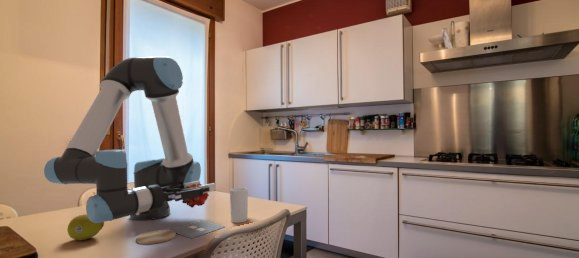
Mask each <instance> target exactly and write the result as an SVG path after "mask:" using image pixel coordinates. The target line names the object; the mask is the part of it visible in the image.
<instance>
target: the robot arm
mask: <svg viewBox="0 0 579 258" xmlns="http://www.w3.org/2000/svg"><path fill="white" fill-rule="evenodd" d="M183 78H184V75H183V71H182V69H181V67H180V65H179V64H178V62H177V61H176V60H175V59H174V58H173V57H171V56H160V55H157V56H155V55H154V56H144V57H129V58H126V59H123V60H121V61H119V62H118V63H117V64H115V65H114V66H113V67H112V68H111V69H110V70H109V71H108V72H107V73H106V74H105V76H104V77H103V78H102V80H101V82H100V84H99V88H100V90H99V92H98V94H97V95H96V97H95V98H94V101H93V102H92V104H91V106H90V107H89V109H88V110H87V112H86V114H85V115H84V117H83V119H82V120H81V123H80V124H79V126H78V128H77V129H76V131H75V133H74V135H73V136H72V138H71V139H70V141H69V143H68V144H67V146H66V148H65V149H64V151H63V153H62V155H61V156H56V157H53V158H51V159H49V160H48V161H47V162H46V163H45V165H44V167H43V174H44V177H45V178H46V180H47V181H49V183H53V184H61V185H71V184H72V185H73V184H77V185H79V184H84V185H85V184H86V185H95V186H96V191H95V192H96V193H95V194H94V195H90V196H89V197H88V198H87V200H86V205H85V210H86V214H87V216H88V218H89V220H90V221H91V222H93V223H100V222H104V223H105V222H111V221H114V220H117V219H122V218H124V217H125V218H126V217H129V218H130V220H134V221H149V220H155V219H160V218H163V217H166V216H168V215H170V214H171V207H170V204H169V202H172V201H175V202H179V201H183V199H188V198H193V197H198V196H200V197H202V196H203V194H204V193H208V194H209V193H211V192H215V191H216V183H215V182H212V183H207V184H202V186H199V187H195V188H187V189H184V188H186V187H187V186H191V185H193V184H196V185H197V184H201V180H200V179H201V174H202V173H201V171H202V167H201V164H200V162H198V161H194V157H193V155H192V154H191V153H189V151H188V146H187V143H186V139H185V134H184V129H183V125H182V119H181V114H180V111H179V106H178V101H177V96H178V95H179V93H180V89H181V88H182V86H183V83H184V82H183ZM137 91H143V92H144V96H145V98H146V99H147V100H149V101H151V105H152V110H153V114H154V117H155V122H156V126H157V131H158V134H159V138H160V142H161V146H162V149H163V154H164V157H163V158H156V159H155V158H154V159H148V160H142V161H138V162H136V163H134V167H133V169H134V170H133V179H134V180H133V181H134V182H133V184H134V185H133V186H134V187H133V188H129V189H128V166H129V165H128V162H127V153H126V151H125V150H123V149H104V150H99V149H100V147H101V145H102V143H103V141H104V140H105V137H106V136H107V134H108V131H109V130H110V128H111V126H112V124H113V122H114V120H115V117H117V115H118V112H119V111H120V108H121V107H122V104H123V102H124V101H125V100H128V99H129V98H130V97H131V94H132V93H133V92H137Z"/></svg>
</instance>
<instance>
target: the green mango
mask: <svg viewBox="0 0 579 258" xmlns="http://www.w3.org/2000/svg"><path fill="white" fill-rule="evenodd" d="M104 226H105V222H100V223H93V222H91V221H90V220H89V218H88V216H87V213H86V214H85V213H84V214H81V215H80V214H79V215H77V216H75V217H73V218H72V219H71V220H70V221H69V223H68V225H67V234H68V236H69V237H70V238H71V239H73V240H75V241H85V240H86V241H87V240H88V239H91V238H93V237H94V236H97V234H98V233H99V232H100V231H101V230H102V229H103V228H104Z"/></svg>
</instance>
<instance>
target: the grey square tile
mask: <svg viewBox="0 0 579 258" xmlns="http://www.w3.org/2000/svg"><path fill="white" fill-rule="evenodd" d="M225 227H226V226H225V225H221V224H217V223H213V222H209V221H205V220H202V219H199V220H197V221H194V222H191V223H186V224H184V225H181V226H177V227H173V228H171V229H169V230H173V231H175V233H176V235H179V236H183V237H186V238H189V239H195V238H198V237H201V236H205V235H206V234H209V233H213V232H216V231H218V230H220V229H223V228H225Z"/></svg>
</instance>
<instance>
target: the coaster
mask: <svg viewBox="0 0 579 258" xmlns="http://www.w3.org/2000/svg"><path fill="white" fill-rule="evenodd" d="M176 235H177V234H176V233H175V231H173V230H170V229H155V230H149V231H146V232H143V233H139V234H138V235H136V237H135V243H136V244H140V245H154V244H155V245H156V244H162V243H165V242H167V241H170V240H172V239H174V238H175V237H176Z"/></svg>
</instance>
